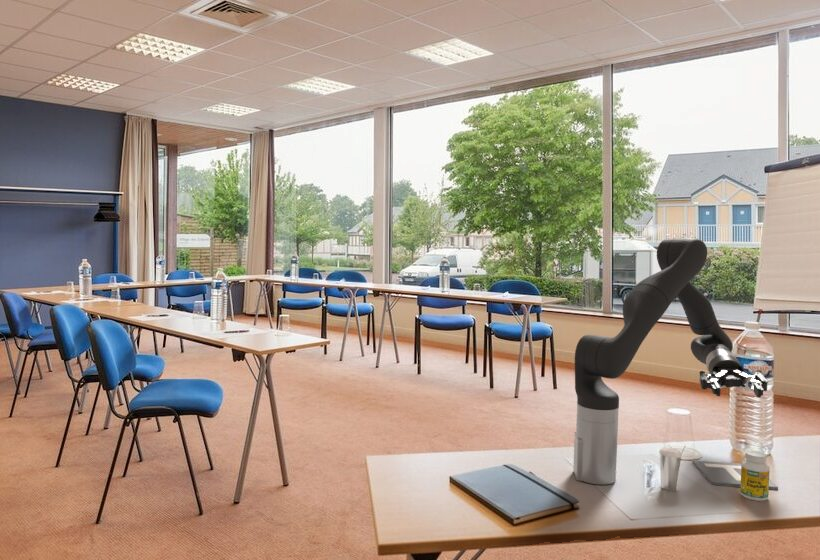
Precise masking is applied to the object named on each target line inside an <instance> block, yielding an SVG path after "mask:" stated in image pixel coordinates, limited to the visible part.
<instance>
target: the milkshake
mask: <svg viewBox="0 0 820 560" xmlns="http://www.w3.org/2000/svg"><path fill="white" fill-rule="evenodd" d="M685 448H686V445H684V447H683V448H682V450H681V451H680V450H679V449H677V448H674V447H671V446H668V447H667V446H664V447H661V448H660V449H659V451H658V452H659V465H660V470H659V471H660V472H659V473H660V488H661V489H663V490H665V491H671V492H674V491H677V488H678V481H679V471H680V466H681V461H682V454H683V452H684V450H685Z"/></svg>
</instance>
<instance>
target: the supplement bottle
mask: <svg viewBox="0 0 820 560" xmlns="http://www.w3.org/2000/svg"><path fill="white" fill-rule="evenodd" d="M744 457H745V459H744V460H742V461H741V463H740V464H741V486H740V487H739V488H740V491H739V493H740V495H741V496H742V497H744V498H746V499H748V500H752V501H757V502H765V501H767V500H768V499H769V494H770V493H769V492H770V489H769V479H770V473H771V471H770V469H771V468H770V466H769V465H768V463H766V462H767V453H764V452H762V451H757V450H746V451H745V455H744Z"/></svg>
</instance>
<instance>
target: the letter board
mask: <svg viewBox="0 0 820 560" xmlns="http://www.w3.org/2000/svg"><path fill="white" fill-rule="evenodd" d="M692 464H693V465H694V466H695V467H696V468H697V469H698V471H699V472H700V473H701V474H702V475H703V477H704V478H705V479H706V480H707V481H708V482H709V483H710V485H712V486H713V485H714V486H725V487H739V488H740V486H741V464H742V463H736V462H721V461H708V460H694V459H693V460H692ZM778 486H779V485H776V483H774V482H773V481H772V480H770V478H769V490H777V491H778V490H779V487H778Z"/></svg>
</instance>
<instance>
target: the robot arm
mask: <svg viewBox="0 0 820 560" xmlns="http://www.w3.org/2000/svg"><path fill="white" fill-rule="evenodd" d="M707 257H708V248H707V245H706V244H705V242H704V241H703V240H701V239H699V238H696V237H695V238H693V237H685V238H684V237H681V238H675V237H674V238H667V239H663V240H662V241H660V242H659V244H658V247H657V248H656V261H657V264H658V266H659V268H660V270H659V271H658V272H656V273H653V274H651V275H650V276H647V277H646V278H644V279H642V280H641V281H640V282H638V283H637V284H636V285H635V286H634V287H633V289H631V291H630V292H629V294H628V295H627V296H626V297H625V299H624V300H623V303H622V319H623V322H624V324H623V325H624V326H623V328H622V329H621V330H620V332H618V334H617V335H615V336H613V337H609V336H603V335H597V334H596V335H594V334H586V335H583V336H582V337H581V338H579V340H578V342H577V345H576V347H575V350H574V351H575V352H574V389H575V394H576V396H577V397H576V398H577V401H576V429H575V432H574V442H573V443H574V444H573V445H574V446H573V473H574V477H575V480H576V481H580V482H585V483H587V484H593V485H600V486H601V485H611V484H614V483H615V482H616V480H617V463H618V461H617V457H618V439H619V438H618V435H619V434H618V433H619V432H618V431H619V430H618V429H619V410H620V409H619V408H620V397H619V394H618V393H617V392H616V391H614V390H613V389H611V388H610V387H609V386H608V385H607V384H606V383H605V382H604V380H603V379H602V378H606V379H609V380H610V379H612V380H613V379H618V378H620V377H621V376H622V375H624V373H625V372H626V371H627V369H628V367H629V366H630V365H631V363H632V361H633V359H634V357H635V356H636V353H638V350H639V348H641V346H642V344H643V342H644V340H645V339H646V338H647V336H648V334H649V333H650V332H651V331H652V329H653V328H654V327H655V325H656V324H657V323H658V322H659V320H660V319H661V318H662V317H663V315H664V314H665V312H666V311H667V310H668V308H669V307H670V305H671V304H672V303H673V302H674V300H675V298H677V299H678V300H679V303H680V305H681V306H682V308H683V311H684V313H685V316H686V319H687V322H688V325H689V327H690V330H691V332H692V333H693V334H695V335H698V336H697V337H695V338H694V339H692V340H691V342H690V351H691V352H692V355H693V356H694V358H695V359H696V360H698V361H699V362H700V363H702V364H703V365H706V369H707V372H708V373H709V374H708V373H706V372H705V371H703V370H701V371H699V375H698V376H699V380H698V381H699V384H700V388H701V389H702V390H708V389H709V390H710V391H711V392H712V394H714V395H715V396H716V397H721V389H723V388H733V387H735V388H740V389H742V390H744V391H753V393H754V395H755V396H756V398H762V396H764V392H767V391H768V380H767V378H766V377H765V375H763V374H762V373H761V372H759V371H757V372H755V373H754V374H753V375H752V374H748V373H747V372H745V369H744V368H743V365H742V364H741V363H740V361H739V360H738V358H737V356H735V355H734V354H733V352H732V351H733V350H734V349H733V348H734V345H733V342H732V340H731V338H730V336H729V335H728V334H727V332H725V331H724V329H723V328H722V327H721V325H720V324H719V322H718V320H717V317H716V314H715V311H714V308H713V306H712V303H711V301H710V300H709V298H708V297H707V296H706V295H705V294H704V293H703V292H702V291H701V290H700V289H698V287H696V286H695V284H693V283H692V282H691V281H692V280H693V279H694V278H695V277H696V276H697V275H698V274H699V273H700V272H701V270H702V269H703V267H704V266H705V264H706V261H707V259H708V258H707Z"/></svg>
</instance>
